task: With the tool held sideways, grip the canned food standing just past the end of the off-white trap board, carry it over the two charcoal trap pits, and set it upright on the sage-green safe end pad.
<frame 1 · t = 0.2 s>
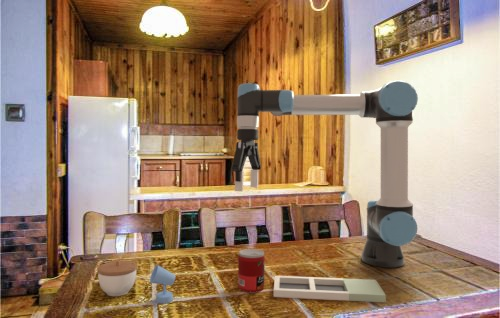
hand: (246, 189, 129), 28 cm above the table, tool pointing down, fingers open, 13 cm apart
canned food: (251, 288, 112), on the table
lidded jar: (117, 292, 108), on the table
trap board: (326, 291, 109), on the table
spotlight: (162, 301, 102), on the table
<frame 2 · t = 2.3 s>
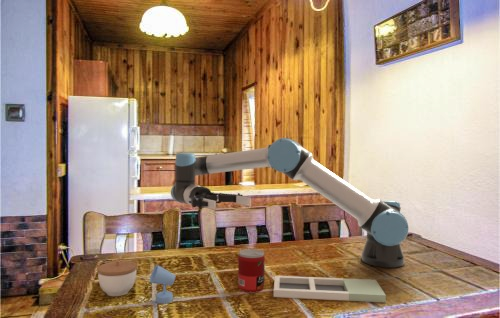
hand: (232, 203, 118), 25 cm above the table, tool horizontal, fingers open, 13 cm apart
nothing on the table moved.
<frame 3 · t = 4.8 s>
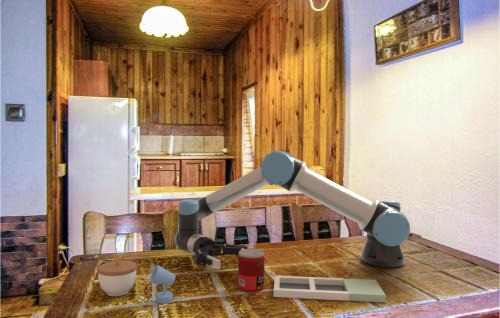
hand: (237, 260, 116), 7 cm above the table, tool horizontal, fingers open, 13 cm apart
nothing on the table moved.
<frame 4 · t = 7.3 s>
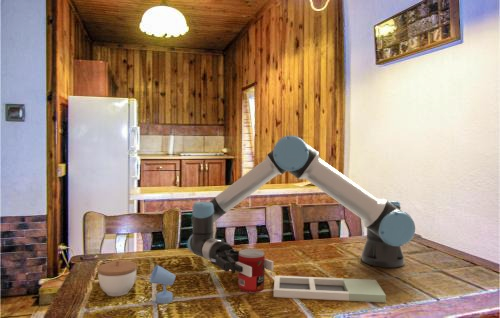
hand: (261, 269, 108), 7 cm above the table, tool horizontal, fingers closed on canned food, 8 cm apart
canned food: (251, 288, 112), on the table, touching gripper
everything else where it was.
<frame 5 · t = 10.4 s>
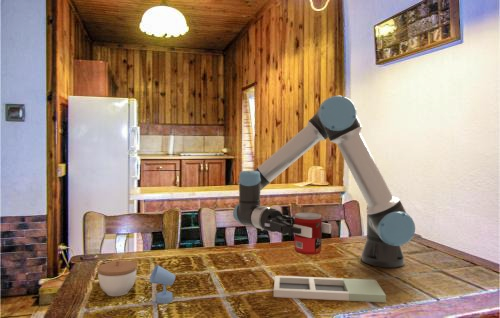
hand: (320, 230, 106), 19 cm above the table, tool horizontal, fingers closed on canned food, 8 cm apart
canned food: (307, 252, 110), point 12 cm above the table, touching gripper
everything else where it was.
when the fingers open (10 cm above the table, at t = 13.5 s): canned food drops 1 cm, resting on trap board.
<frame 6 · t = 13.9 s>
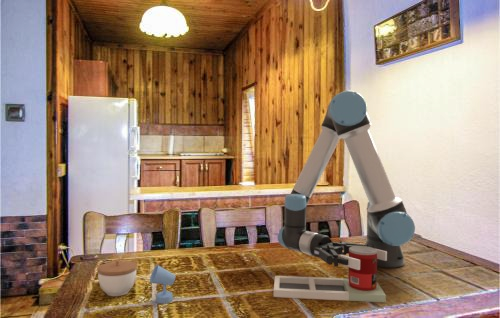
hand: (373, 260, 105), 10 cm above the table, tool horizontal, fingers open, 13 cm apart
canned food: (362, 286, 108), point 2 cm above the table, touching trap board
everything else where it was.
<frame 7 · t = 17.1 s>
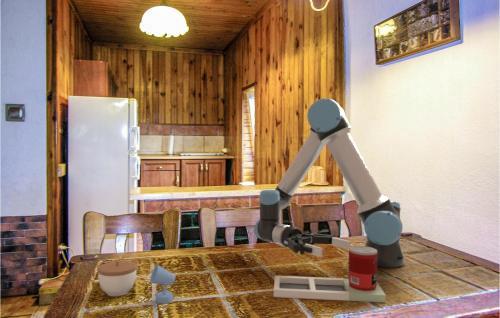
hand: (335, 248, 116), 11 cm above the table, tool horizontal, fingers open, 13 cm apart
nothing on the table moved.
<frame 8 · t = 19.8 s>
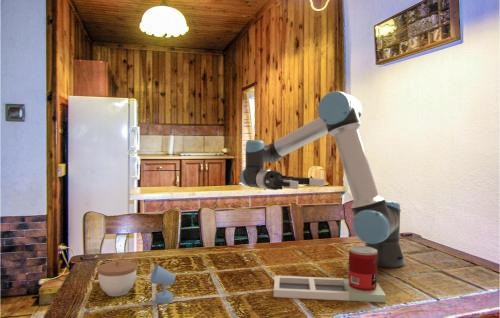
hand: (311, 184, 128), 30 cm above the table, tool horizontal, fingers open, 13 cm apart
nothing on the table moved.
at the end: canned food inside the target area on the trap board (0.1 cm from its centre), point 1.8 cm above the trap board's base; canned food tilted 0°; the gripper is holding nothing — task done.
